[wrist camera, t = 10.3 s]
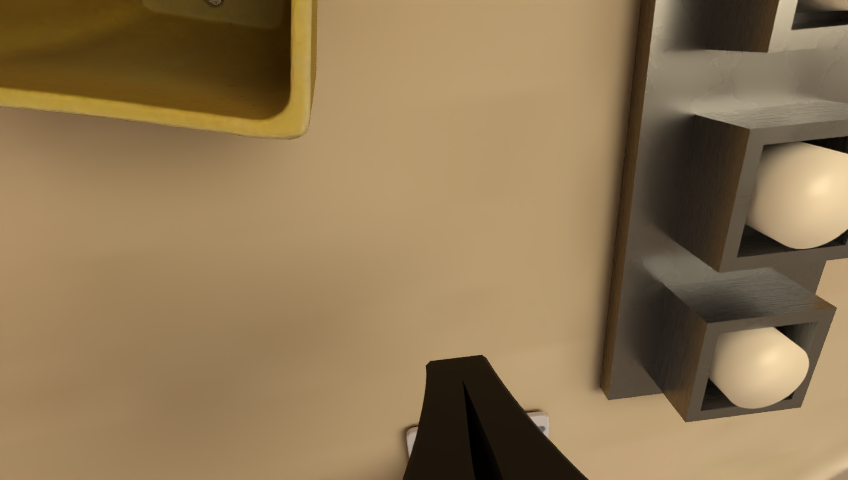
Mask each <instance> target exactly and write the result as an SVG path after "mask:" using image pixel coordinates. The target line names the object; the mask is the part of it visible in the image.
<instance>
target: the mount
mask: <svg viewBox="0 0 848 480" xmlns="http://www.w3.org/2000/svg"><path fill="white" fill-rule="evenodd" d="M797 2H798V0H642V1H641V11H640V20H639V29H638V38H637V48H636V57H635V66H634V76H633V85H632V94H631V104H630V113H629V122H628V132H627V141H626V150H625V160H624V169H623V178H622V187H621V197H620V206H619V215H618V225H617V234H616V243H615V253H614V262H613V271H612V281H611V290H610V299H609V309H608V318H607V327H606V336H605V346H604V355H603V364H602V374H601V383H600V387H601V389H602V391H603V392H604V394H605V396H606V397H607V399H608V400H613V399H621V398H628V397H636V396H644V395H652V394H660V393H663V394H664V395H665V396H666V398H667V399H668V400H669V402H670V403H671V404H672V405H673V407H674V408H675V409H676V411H677V412H678V413H679V414H680V416H681V417H682V418H683V420H684V421H685V422H692V421H699V420H707V419H715V418H722V417H730V416H738V415H745V414H753V413H761V412H768V411H776V410H784V409H791V408H799V407H801V405H802V402H803V400H804V397H805V394H806V391H807V389H808V386H809V383H810V380H811V378H812V375H813V372H814V369H815V367H816V364H817V361H818V358H819V356H820V353H821V350H822V347H823V345H824V342H825V339H826V336H827V334H828V331H829V328H830V325H831V323H832V320H833V317H834V314H835V311H836V309H837V308H836V307H835V306H833V305H832V304H830V303H828V302H827V301H825V300H823V299H822V298H820V297H818V296H817V295H815V293H816V290H817V287H818V284H819V281H820V278H821V275H822V272H823V269H824V266H825V263H826V260H834V259H843V258H848V229H847V230H846V231H845V232H843V233H842V234H841V235H839V236H838V237H836V238H835V239H833V240H831V241H829V242H827V243H825V244H823V245H820V246H817V247H814V248H808V249H795V248H790V247H788V246H785V245H783V244H782V243H780V242H778V241H776V240H774V239H772V238H770V237H768V236H767V235H765V234H763V233H761V232H759V231H757V230H755V229H753V228H751V227H750V226H748V225H746V224H745V221H746V217H747V213H748V208H749V204H750V200H751V196H752V191H753V187H754V183H755V179H756V175H757V170H758V166H759V162H760V158H761V154H762V149H763V145H767V144H777V143H786V142H796V141H800V142H804V143H808V144H812V145H816V146H819V147H823V148H827V149H831V150H835V151H838V152H842V153H846V154H848V10H845V11H824V12H802V13H795V10H796V6H797ZM768 327H774V328H775V329H777V330H778V331H779V332H781V333H782V334H783V335H785V336H786V337H787V338H789V339H790V340H791V341H793V342H794V343H795V344H797V345H798V346H799V347H800V348H802V349H803V350H804V351H805V352H806V354H807V356H808V359H809V368H808V372H807V374H806V376H805V378H804V380H803V381H802V383H801V384H800V385H799V386H798V388H797V389H796V390H794V391H793V392H792V393H791V394H790V395H788V396H787V397H786V398H784V399H782V400H781V401H779V402H777V403H774V404H772V405H769V406H766V407H762V408H755V409H748V408H742V407H739V406H737V405H735V404H733V403H732V402H731V401H730V400H729V399H728V398H727V397H726V395H725V394H724V393H723V392H722V391H721V390H720V389H719V388H718V387H717V386H716V385H715V384H714V383H713V382H712V381H711V380H710V379H709V373H710V368H711V364H712V360H713V356H714V352H715V347H716V343H717V339H718V335H719V333H727V332H735V331H744V330H752V329H760V328H768Z"/></svg>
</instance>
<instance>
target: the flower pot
mask: <svg viewBox="0 0 848 480" xmlns="http://www.w3.org/2000/svg"><path fill="white" fill-rule="evenodd" d="M316 51H317V0H222V2H221V3H220V4H219V5H212V4H211V3H210V2H209V1H208V0H0V107H8V108H20V109H32V110H43V111H51V112H64V113H73V114H80V115H88V116H97V117H105V118H113V119H121V120H127V121H135V122H144V123H152V124H160V125H166V126H174V127H182V128H189V129H199V130H204V131H214V132H221V133H228V134H235V135H240V136H247V137H255V138H265V139H295V138H298V137H301V136H302V135H304V134H305V133H306V131H307V128H308V126H309V123H310V114H311V107H312V101H313V94H314V86H315V78H316Z"/></svg>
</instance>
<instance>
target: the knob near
mask: <svg viewBox="0 0 848 480" xmlns="http://www.w3.org/2000/svg"><path fill="white" fill-rule="evenodd" d="M845 10H848V0H798V2H797V6H796V10H795V13H802V12H824V11H845Z"/></svg>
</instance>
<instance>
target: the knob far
mask: <svg viewBox="0 0 848 480" xmlns="http://www.w3.org/2000/svg"><path fill="white" fill-rule="evenodd" d="M808 368H809V359H808V356H807V354H806V352H805V351H804V350H803V349H802V348H800V347H799V346H798V345H797V344H795V343H794V342H793V341H791V340H790V339H789V338H787V337H786V336H785V335H783V334H782V333H781V332H779V331H778V330H777V329H775V328H774V327H768V328H760V329H752V330H744V331H735V332H727V333H719V335H718V339H717V343H716V347H715V352H714V356H713V360H712V364H711V368H710V373H709V379H710V380H711V381H712V382H713V383H714V384H715V385H716V386H717V387H718V388H719V389H720V390H721V391H722V392H723V393H724V394H725V395H726V397H727V398H728V399H729V400H730V401H731V402H732V403H733V404H735V405H737V406H739V407H742V408H748V409H755V408H762V407H766V406H769V405H772V404H774V403H777V402H779V401H781V400H782V399H784V398H786V397H787V396H788V395H790V394H791V393H792V392H793V391H794V390H796V389H797V388H798V386H799V385H800V384H801V383H802V381H803V380H804V378H805V376H806V374H807V372H808Z"/></svg>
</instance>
